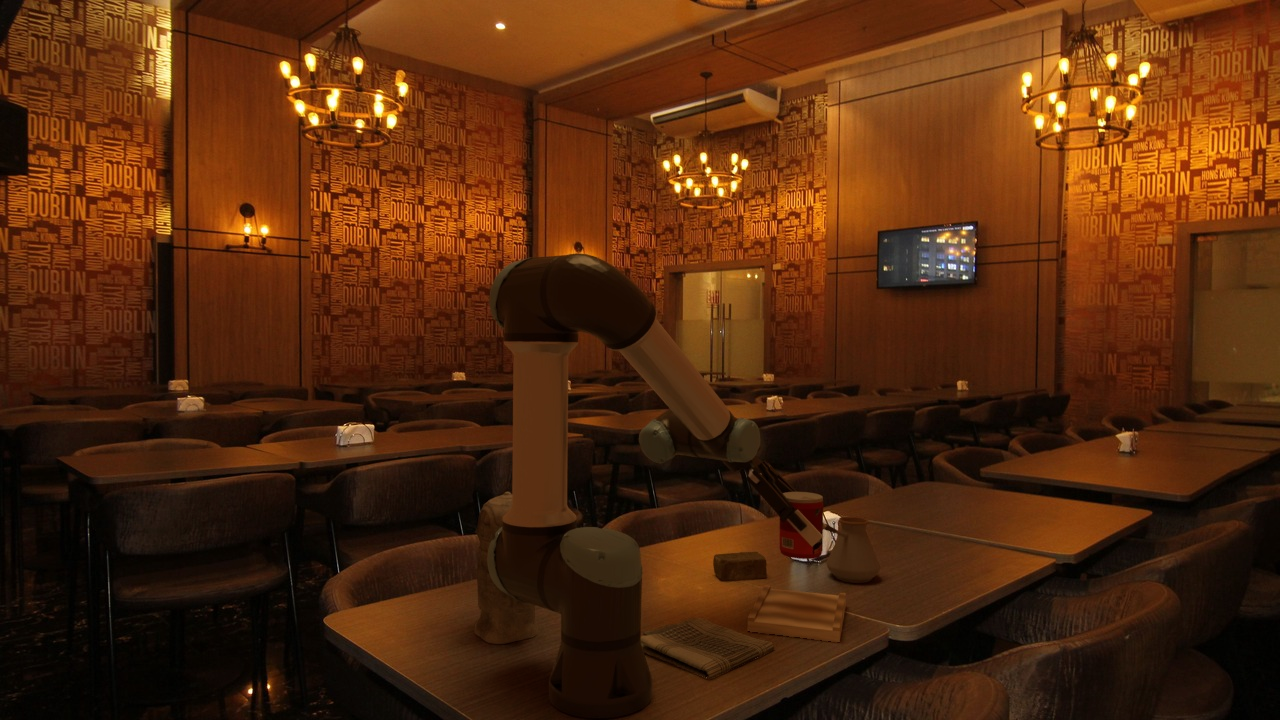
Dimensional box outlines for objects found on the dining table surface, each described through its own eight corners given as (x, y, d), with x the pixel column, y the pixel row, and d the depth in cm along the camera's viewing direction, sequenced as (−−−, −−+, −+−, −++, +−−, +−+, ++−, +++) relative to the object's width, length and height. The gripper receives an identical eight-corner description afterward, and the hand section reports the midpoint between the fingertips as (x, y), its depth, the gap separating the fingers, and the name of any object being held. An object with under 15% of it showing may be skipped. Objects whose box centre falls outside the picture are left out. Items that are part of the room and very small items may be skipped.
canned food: (823, 560, 143) (823, 500, 142) (778, 558, 144) (779, 498, 144) (822, 549, 150) (822, 492, 150) (779, 547, 152) (780, 490, 151)
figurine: (511, 615, 148) (511, 483, 147) (547, 638, 136) (548, 495, 136) (462, 626, 142) (462, 488, 142) (496, 651, 130) (497, 501, 130)
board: (839, 642, 135) (839, 627, 135) (747, 631, 140) (747, 617, 140) (845, 606, 154) (845, 593, 154) (764, 597, 159) (764, 585, 159)
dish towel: (778, 653, 132) (778, 634, 132) (708, 685, 119) (709, 664, 119) (695, 624, 145) (695, 607, 145) (625, 650, 133) (625, 631, 133)
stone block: (711, 575, 175) (711, 553, 175) (758, 572, 178) (759, 550, 178) (720, 582, 169) (721, 560, 169) (769, 579, 173) (770, 557, 172)
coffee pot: (845, 567, 181) (846, 503, 181) (890, 578, 173) (891, 511, 172) (788, 585, 167) (788, 515, 167) (833, 599, 159) (834, 525, 158)
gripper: (731, 452, 161) (810, 536, 157) (709, 467, 142) (799, 563, 137) (756, 427, 159) (837, 511, 155) (738, 439, 140) (830, 536, 135)
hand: (819, 535), depth 146 cm, fingers closed on canned food, 8 cm apart
